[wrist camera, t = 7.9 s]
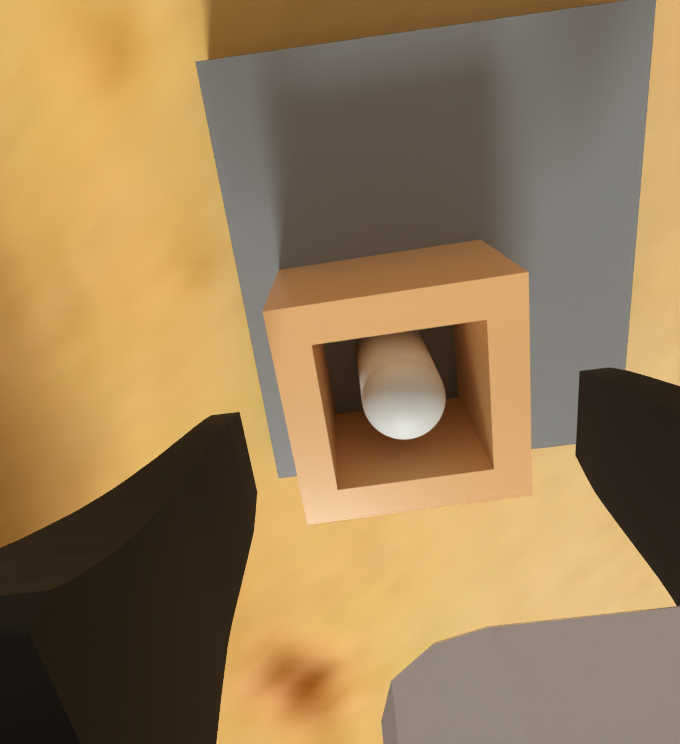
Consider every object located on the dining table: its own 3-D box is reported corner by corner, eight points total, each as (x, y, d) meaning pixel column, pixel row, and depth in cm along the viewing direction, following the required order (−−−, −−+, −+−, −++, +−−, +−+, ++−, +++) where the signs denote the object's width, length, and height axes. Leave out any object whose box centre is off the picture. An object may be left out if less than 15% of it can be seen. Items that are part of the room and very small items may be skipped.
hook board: (598, 417, 19) (703, 526, 14) (282, 454, 19) (264, 574, 14) (625, 9, 14) (799, -67, 9) (208, 68, 15) (138, 29, 9)
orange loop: (489, 419, 17) (531, 495, 14) (312, 443, 18) (307, 524, 14) (480, 239, 15) (528, 272, 11) (278, 270, 15) (262, 311, 12)
